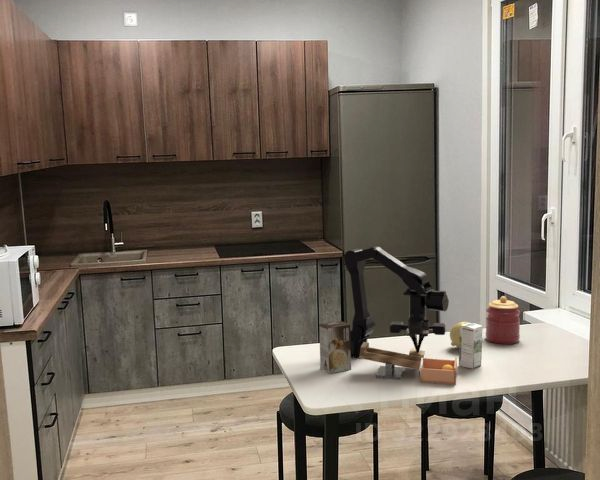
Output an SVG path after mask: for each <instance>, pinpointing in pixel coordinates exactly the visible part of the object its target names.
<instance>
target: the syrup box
mask: <svg viewBox="0 0 600 480" xmlns="http://www.w3.org/2000/svg"><path fill="white" fill-rule="evenodd" d="M483 327H484V326H483V325H481V324H478V323H475V322H474V323H473V322H469V323H467V324H464V325H461V326H460V338H459V347H458V366H460V367H463V368H468V369H472V370H473V369H476V368H478V367H480V366H481V365H482V355H483V353H482V349H483V329H484V328H483Z"/></svg>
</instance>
